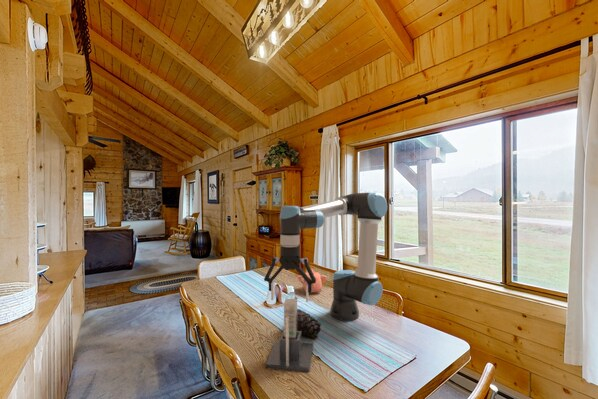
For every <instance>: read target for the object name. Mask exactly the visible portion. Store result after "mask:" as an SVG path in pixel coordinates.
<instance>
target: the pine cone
mask: <svg viewBox="0 0 598 399" xmlns="http://www.w3.org/2000/svg"><path fill="white" fill-rule="evenodd" d="M321 330H322V327H321V323H320V322H319V321H318V319H316V318H315V317H314V316H313V315H310V314H309V313H308V312H305V311H304V310H302V309H300V308H297V331H302V339H308V340H311V341H317V340H318V337H319V335H318V334H319V332H321Z"/></svg>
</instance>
